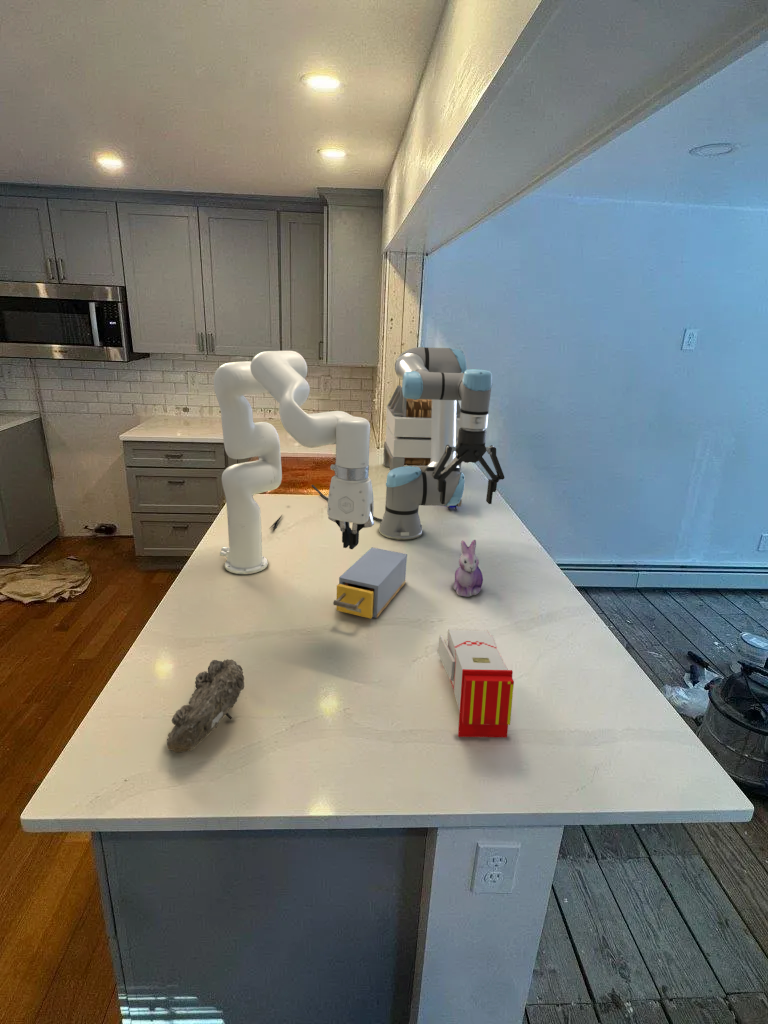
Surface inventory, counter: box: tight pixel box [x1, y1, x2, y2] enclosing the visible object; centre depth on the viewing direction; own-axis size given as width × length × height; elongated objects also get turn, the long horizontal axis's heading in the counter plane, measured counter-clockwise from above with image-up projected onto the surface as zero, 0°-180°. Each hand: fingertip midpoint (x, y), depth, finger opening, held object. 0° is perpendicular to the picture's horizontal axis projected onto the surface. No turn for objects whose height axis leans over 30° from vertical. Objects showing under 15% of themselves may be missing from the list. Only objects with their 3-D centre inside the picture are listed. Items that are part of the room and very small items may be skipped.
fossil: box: [166, 658, 245, 754], centre depth 106 cm, size 22×10×15 cm
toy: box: [437, 628, 515, 738], centre depth 117 cm, size 12×13×30 cm
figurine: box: [453, 539, 484, 598], centre depth 159 cm, size 9×10×15 cm
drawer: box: [332, 582, 374, 620], centre depth 150 cm, size 26×10×7 cm, turn 158°
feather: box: [268, 514, 283, 532], centre depth 208 cm, size 2×28×2 cm
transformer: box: [383, 384, 462, 472], centre depth 268 cm, size 34×33×41 cm
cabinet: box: [338, 546, 408, 619], centre depth 155 cm, size 22×11×9 cm, turn 158°
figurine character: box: [446, 499, 463, 511], centre depth 229 cm, size 7×8×15 cm
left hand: (350, 546), depth 135 cm, fingers closed
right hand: (465, 502), depth 161 cm, fingers open, 13 cm apart
